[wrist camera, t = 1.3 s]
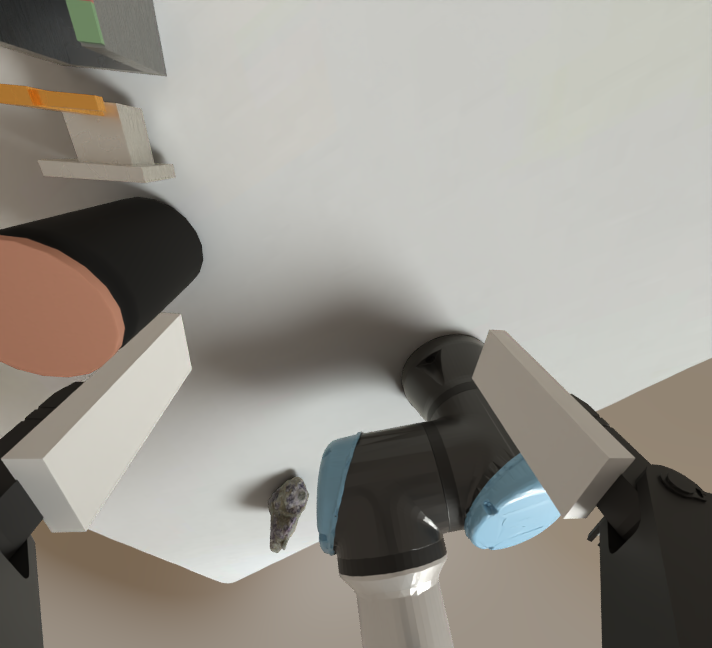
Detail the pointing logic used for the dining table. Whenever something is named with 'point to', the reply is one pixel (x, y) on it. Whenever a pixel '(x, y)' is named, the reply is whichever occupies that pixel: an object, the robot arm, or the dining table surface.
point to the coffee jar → (90, 282)
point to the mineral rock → (286, 511)
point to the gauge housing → (85, 33)
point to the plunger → (95, 136)
